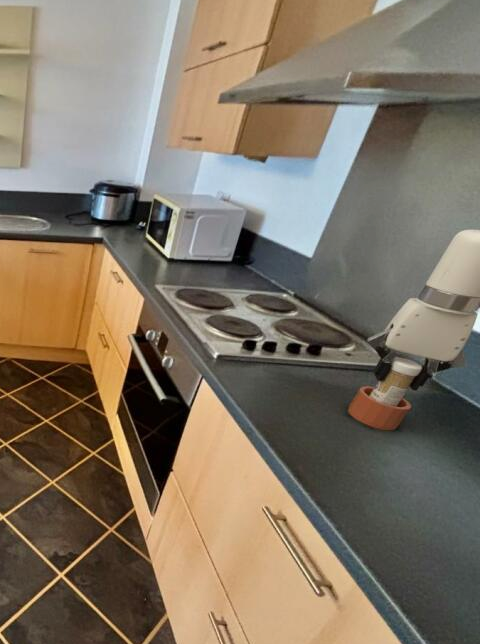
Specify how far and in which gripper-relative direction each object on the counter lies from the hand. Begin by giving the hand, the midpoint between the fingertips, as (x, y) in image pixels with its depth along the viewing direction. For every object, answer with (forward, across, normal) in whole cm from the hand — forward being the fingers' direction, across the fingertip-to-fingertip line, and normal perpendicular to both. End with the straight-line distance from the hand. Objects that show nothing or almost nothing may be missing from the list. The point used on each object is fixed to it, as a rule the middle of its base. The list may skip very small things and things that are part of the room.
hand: (395, 381), depth 84 cm
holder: (+9, 0, 0) cm, 9 cm away
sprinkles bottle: (+9, 0, 0) cm, 9 cm away
